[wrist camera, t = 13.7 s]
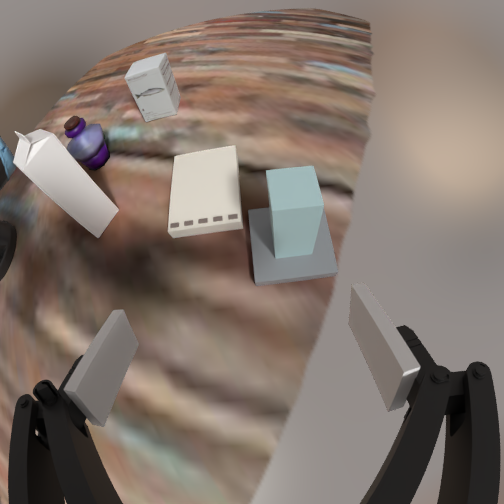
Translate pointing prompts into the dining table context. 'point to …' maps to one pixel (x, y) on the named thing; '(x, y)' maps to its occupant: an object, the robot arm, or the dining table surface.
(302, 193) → the light blue tall block
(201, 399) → the dining table surface
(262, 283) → the coaster
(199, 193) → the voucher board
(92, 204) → the milk
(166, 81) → the supplement box
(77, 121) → the potion bottle
